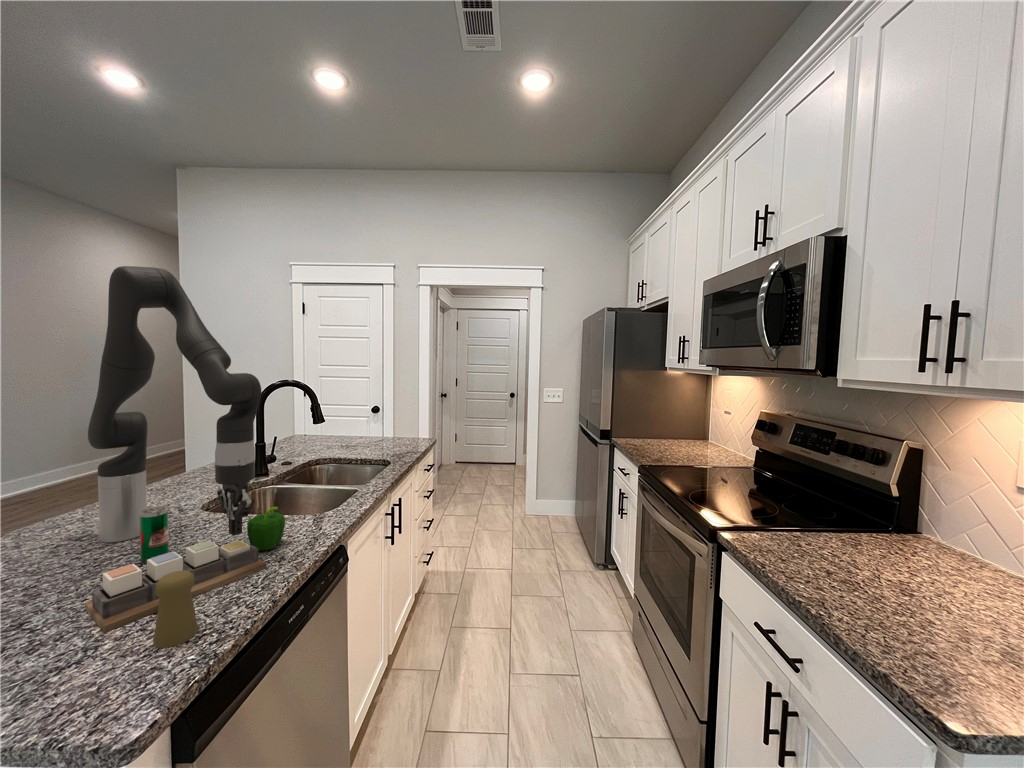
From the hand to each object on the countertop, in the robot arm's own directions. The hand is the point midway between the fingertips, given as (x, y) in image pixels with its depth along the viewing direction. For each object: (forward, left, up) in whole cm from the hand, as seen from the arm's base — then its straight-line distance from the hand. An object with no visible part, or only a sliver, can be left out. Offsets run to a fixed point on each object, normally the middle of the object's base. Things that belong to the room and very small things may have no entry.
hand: (235, 533), depth 93 cm
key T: (0, -13, -4) cm, 14 cm away
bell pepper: (-5, +9, -8) cm, 13 cm away
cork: (+17, -17, -8) cm, 25 cm away
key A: (0, -7, -4) cm, 8 cm away
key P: (0, 0, -6) cm, 6 cm away
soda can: (-20, -9, -8) cm, 23 cm away
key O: (0, -19, -3) cm, 20 cm away
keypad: (0, -10, -8) cm, 13 cm away
